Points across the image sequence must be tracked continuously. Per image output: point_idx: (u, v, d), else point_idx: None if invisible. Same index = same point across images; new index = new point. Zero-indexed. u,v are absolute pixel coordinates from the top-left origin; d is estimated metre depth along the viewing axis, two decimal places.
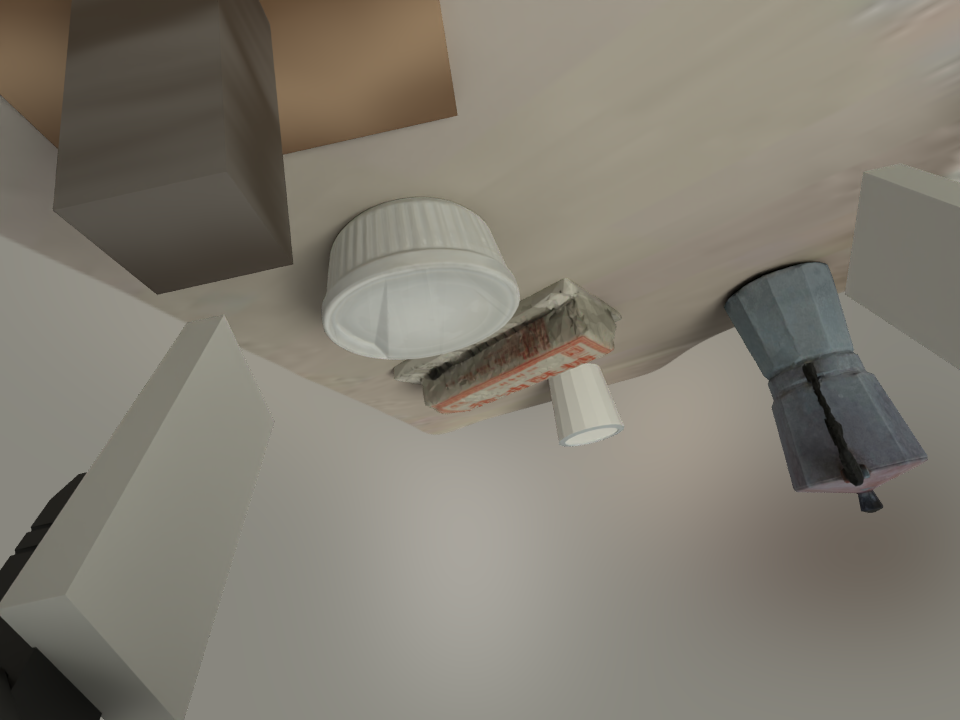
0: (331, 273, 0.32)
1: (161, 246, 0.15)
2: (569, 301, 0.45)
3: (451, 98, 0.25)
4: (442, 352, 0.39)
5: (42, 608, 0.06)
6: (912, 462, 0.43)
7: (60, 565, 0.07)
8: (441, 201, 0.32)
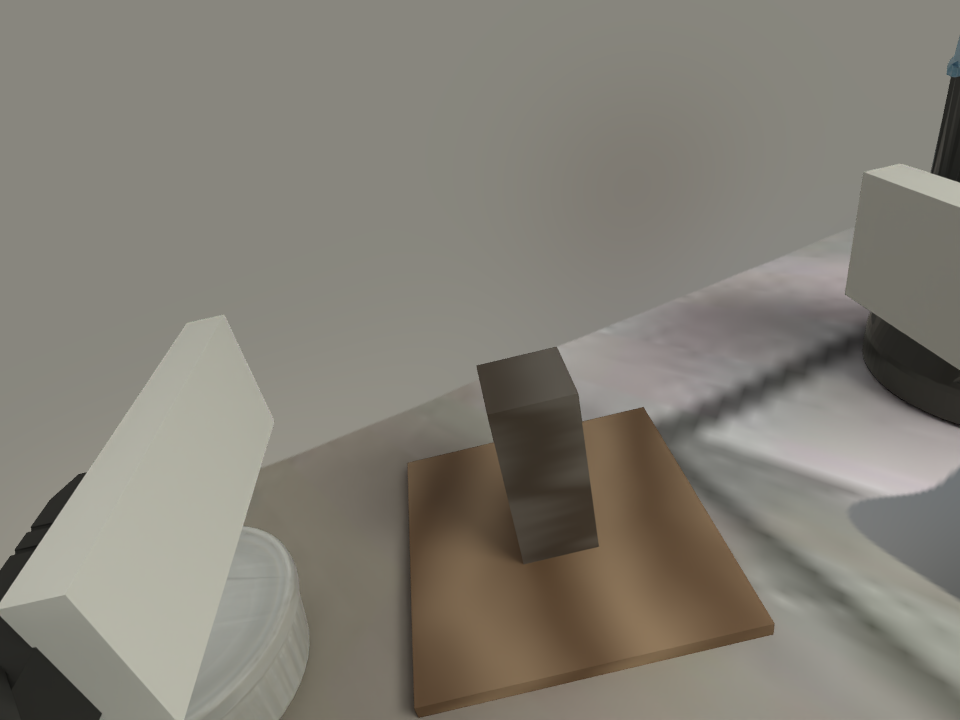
0: None
1: (521, 370, 0.28)
2: None
3: (436, 699, 0.26)
4: None
5: (42, 608, 0.06)
6: None
7: (60, 565, 0.07)
8: None
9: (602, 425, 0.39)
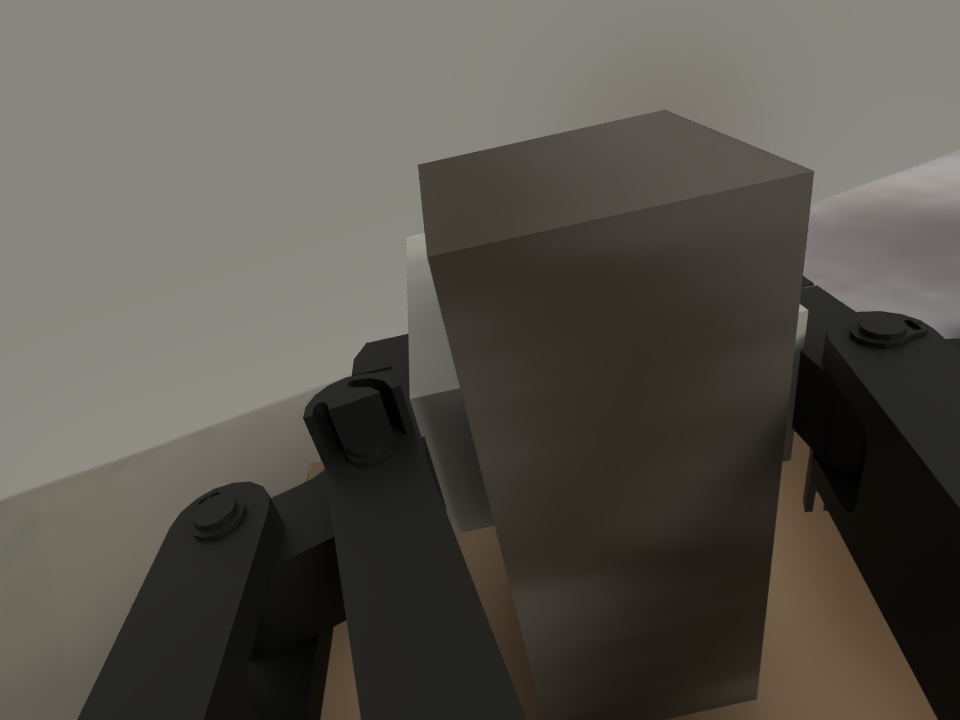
0: None
1: (560, 156, 0.08)
2: None
3: None
4: None
5: (442, 399, 0.08)
6: None
7: (442, 373, 0.08)
8: None
9: None
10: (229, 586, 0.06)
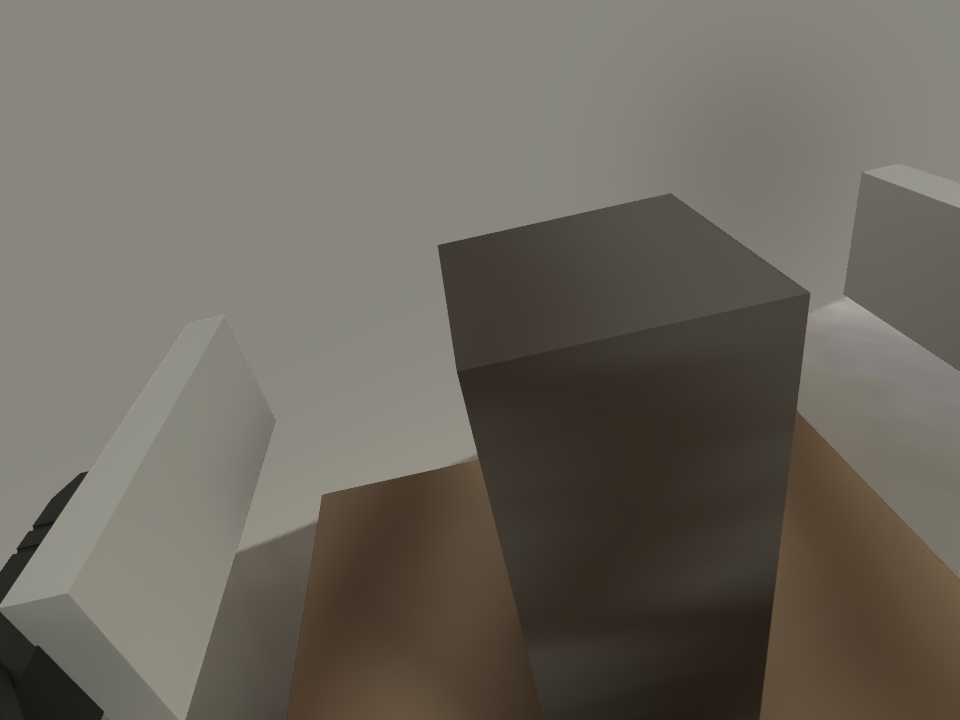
0: None
1: (574, 247, 0.09)
2: None
3: None
4: None
5: (44, 606, 0.06)
6: None
7: (62, 563, 0.07)
8: None
9: None
10: None
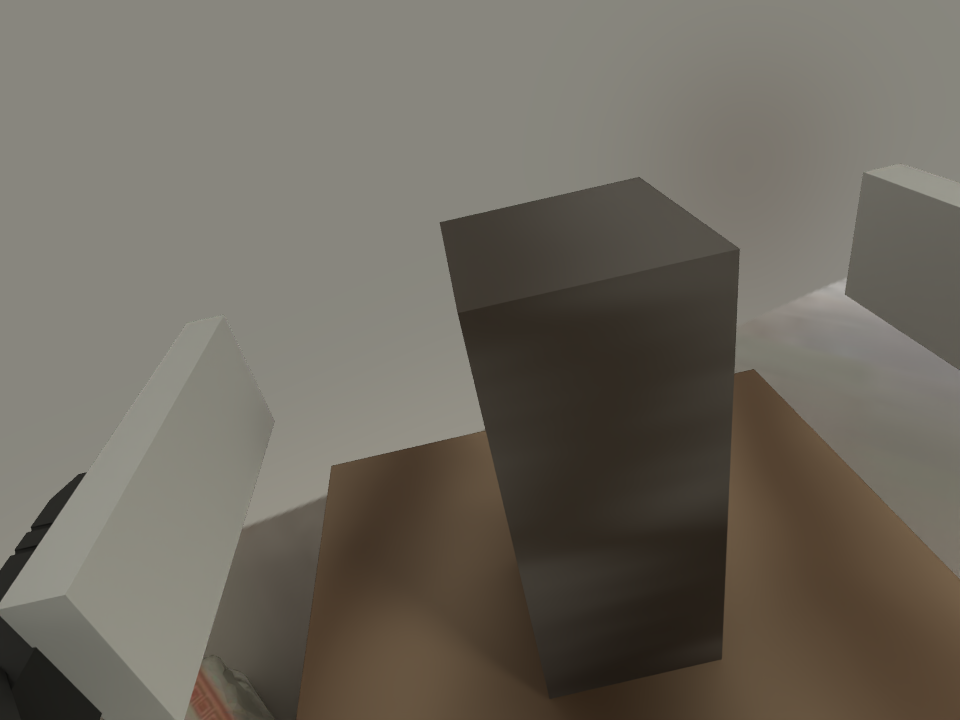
0: None
1: (555, 220, 0.11)
2: None
3: None
4: None
5: (42, 608, 0.06)
6: None
7: (60, 565, 0.07)
8: None
9: None
10: None
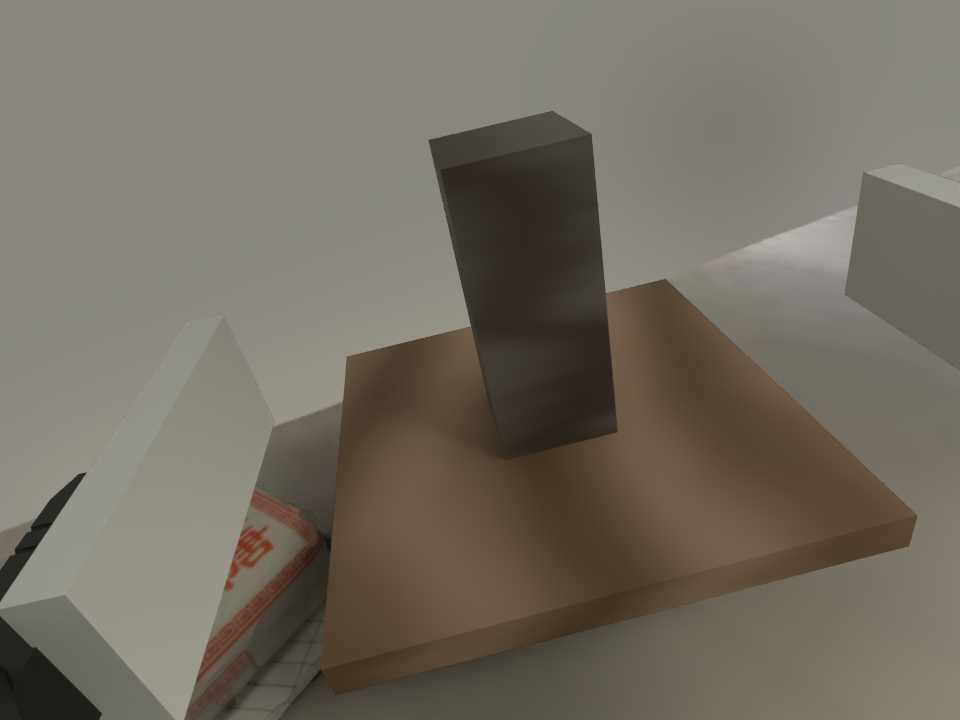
0: None
1: (497, 132, 0.18)
2: None
3: (359, 654, 0.15)
4: None
5: (42, 608, 0.06)
6: None
7: (60, 565, 0.07)
8: None
9: (611, 300, 0.28)
10: None
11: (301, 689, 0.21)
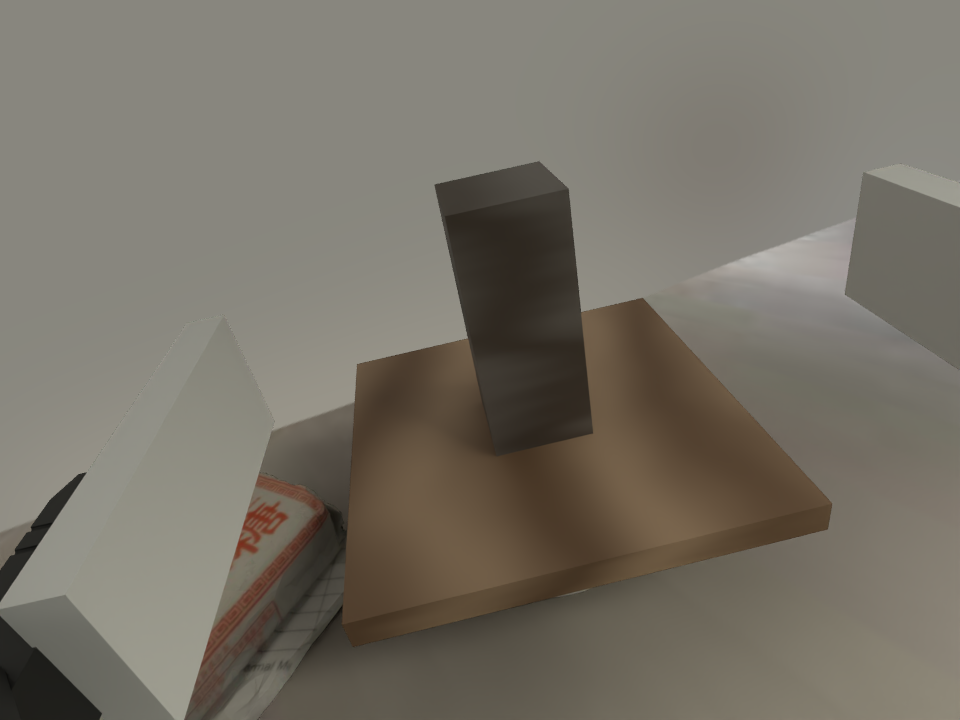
0: None
1: (493, 181, 0.21)
2: None
3: (373, 612, 0.19)
4: None
5: (42, 608, 0.06)
6: None
7: (60, 565, 0.07)
8: None
9: (593, 317, 0.32)
10: None
11: (319, 632, 0.26)
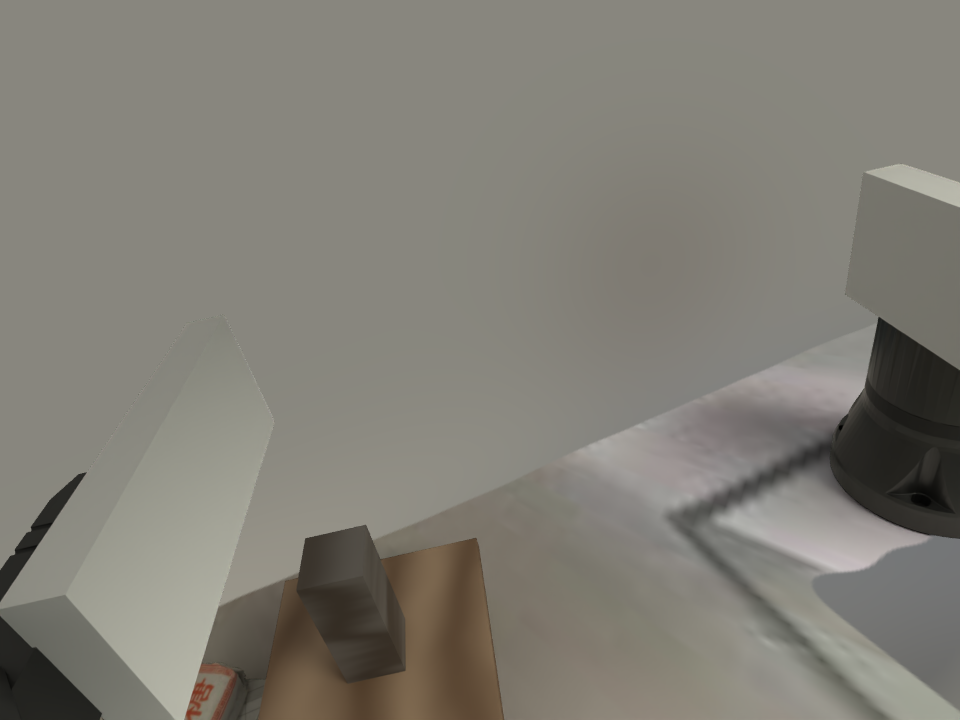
0: None
1: (333, 547, 0.37)
2: None
3: None
4: None
5: (42, 608, 0.06)
6: None
7: (60, 565, 0.07)
8: None
9: (440, 554, 0.48)
10: None
11: None
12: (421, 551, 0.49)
